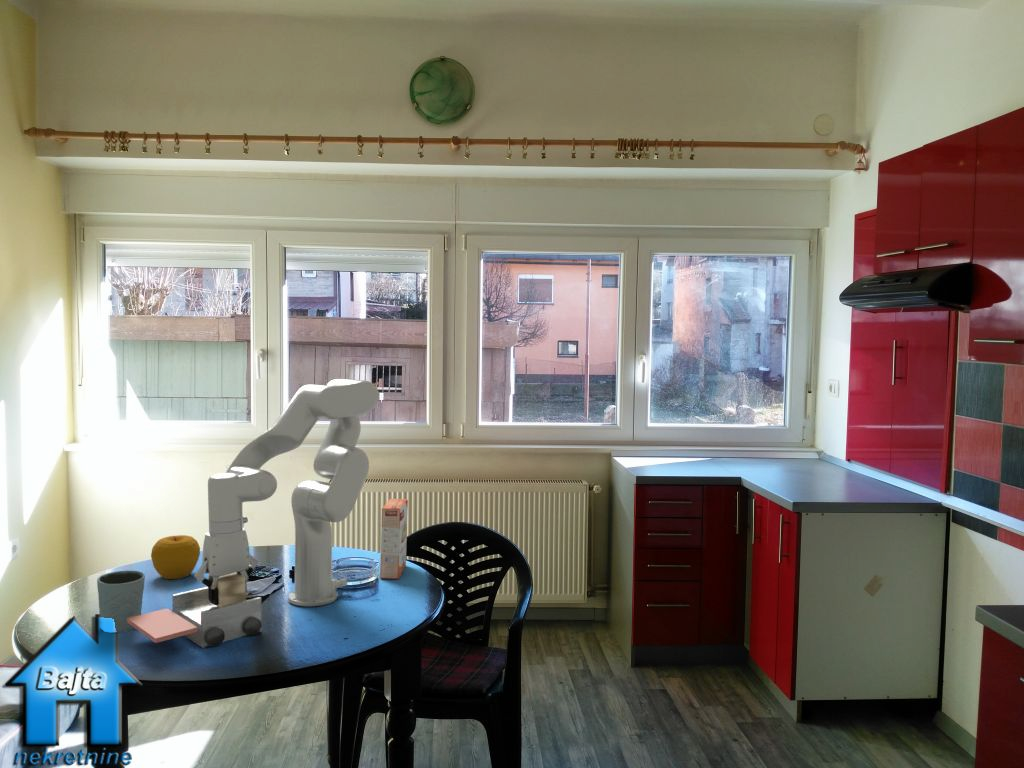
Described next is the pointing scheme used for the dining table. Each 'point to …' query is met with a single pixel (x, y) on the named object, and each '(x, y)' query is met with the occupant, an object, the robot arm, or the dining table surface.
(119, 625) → the grey round bin
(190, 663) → the dining table surface
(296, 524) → the robot arm
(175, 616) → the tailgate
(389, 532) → the cracker box
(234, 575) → the box
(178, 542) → the apple
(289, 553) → the dining table surface
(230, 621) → the cart
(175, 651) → the dining table surface
